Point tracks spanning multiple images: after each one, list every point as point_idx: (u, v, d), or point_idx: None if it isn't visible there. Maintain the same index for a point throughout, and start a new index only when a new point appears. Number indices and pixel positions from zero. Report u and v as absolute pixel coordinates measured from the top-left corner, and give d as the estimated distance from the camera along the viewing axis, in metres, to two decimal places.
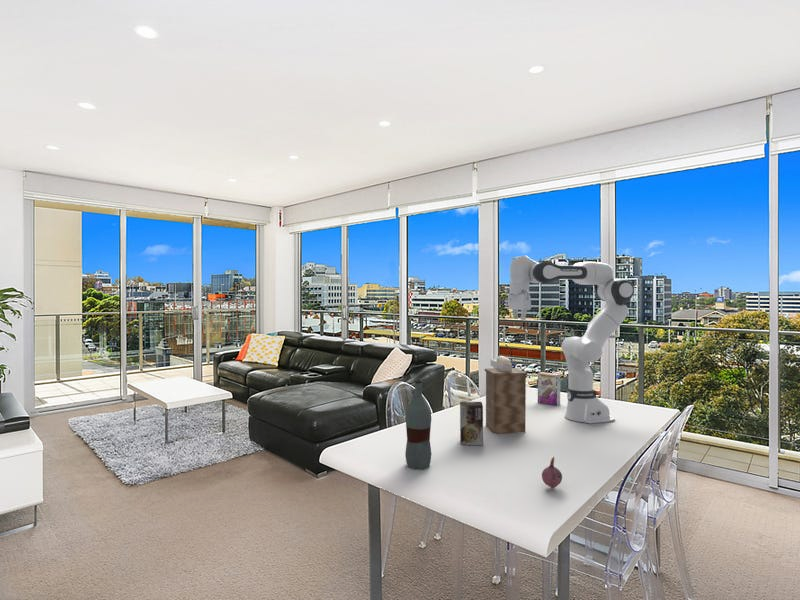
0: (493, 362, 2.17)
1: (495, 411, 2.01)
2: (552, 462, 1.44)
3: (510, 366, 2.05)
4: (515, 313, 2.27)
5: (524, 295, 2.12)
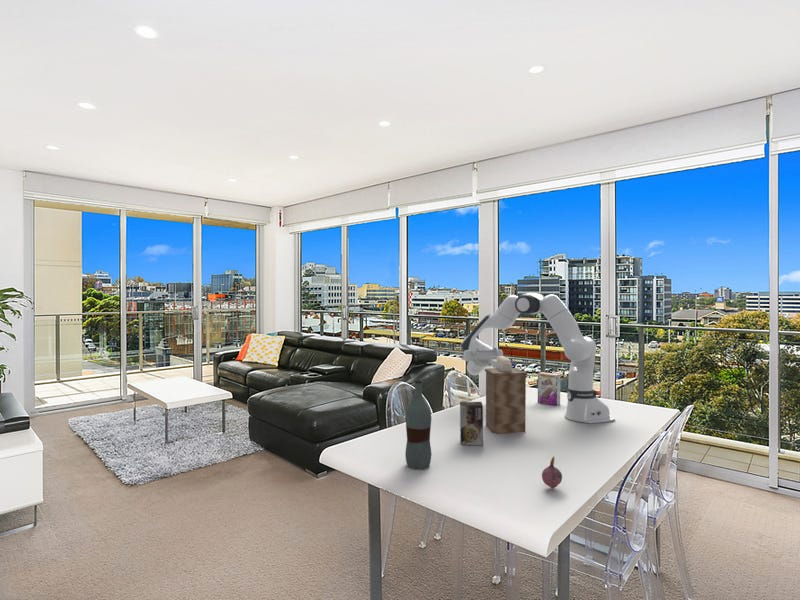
0: (493, 362, 2.17)
1: (495, 411, 2.01)
2: (552, 462, 1.44)
3: (510, 366, 2.05)
4: None
5: None
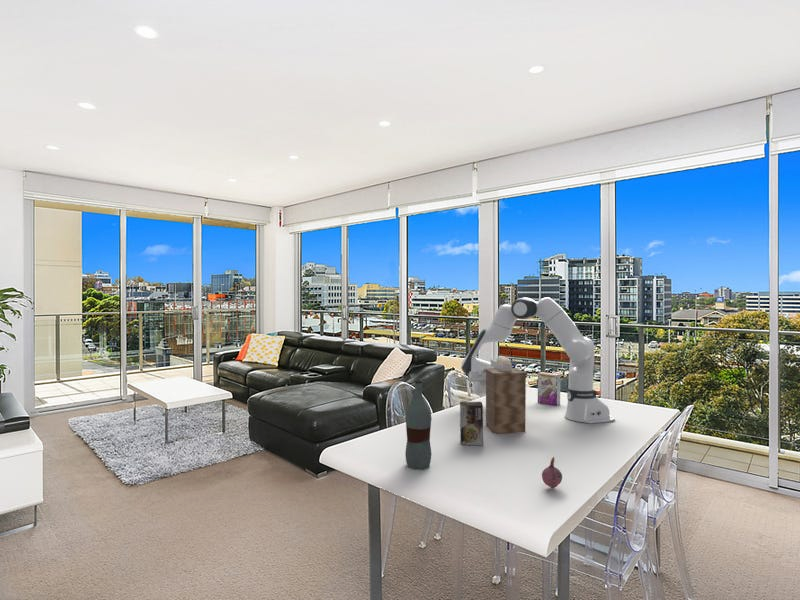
0: (493, 362, 2.17)
1: (495, 411, 2.01)
2: (552, 462, 1.44)
3: (510, 366, 2.05)
4: None
5: None
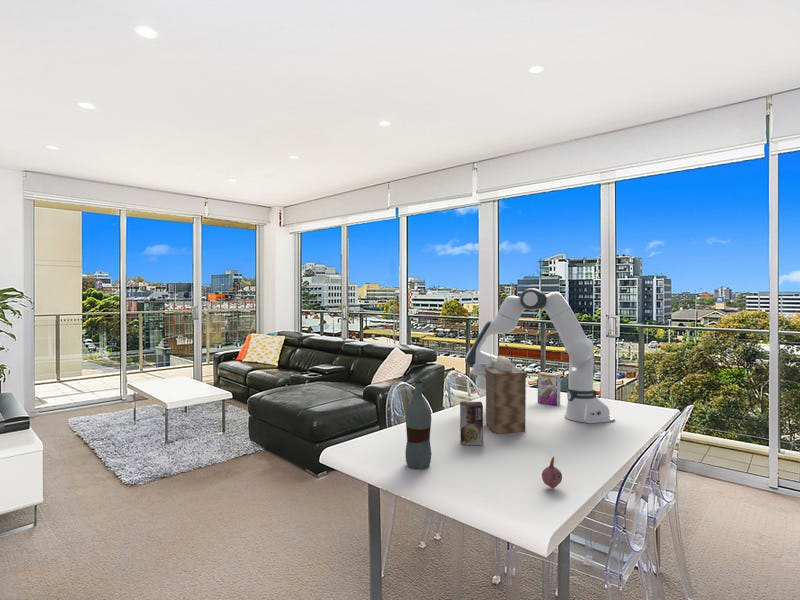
0: (493, 362, 2.17)
1: (495, 411, 2.01)
2: (552, 462, 1.44)
3: (510, 366, 2.05)
4: None
5: None
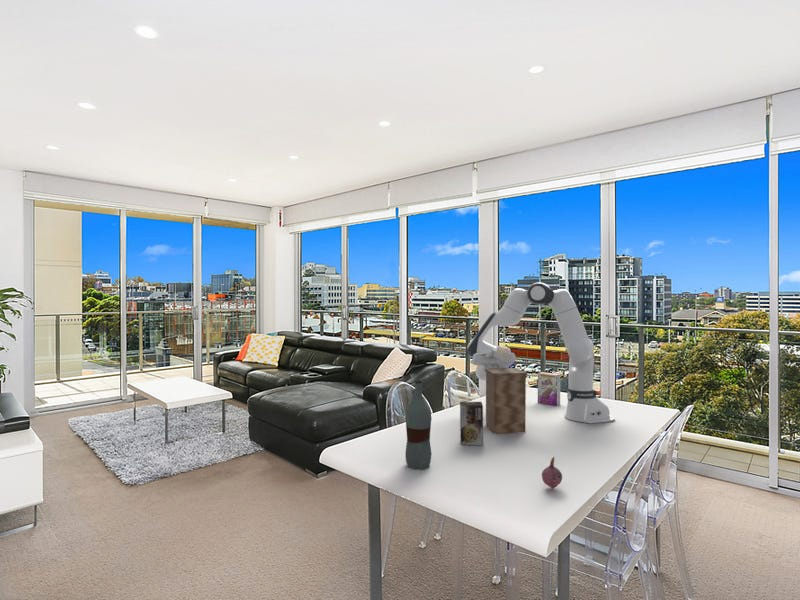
0: (493, 351, 2.17)
1: (495, 411, 2.01)
2: (552, 462, 1.44)
3: (510, 355, 2.05)
4: None
5: None
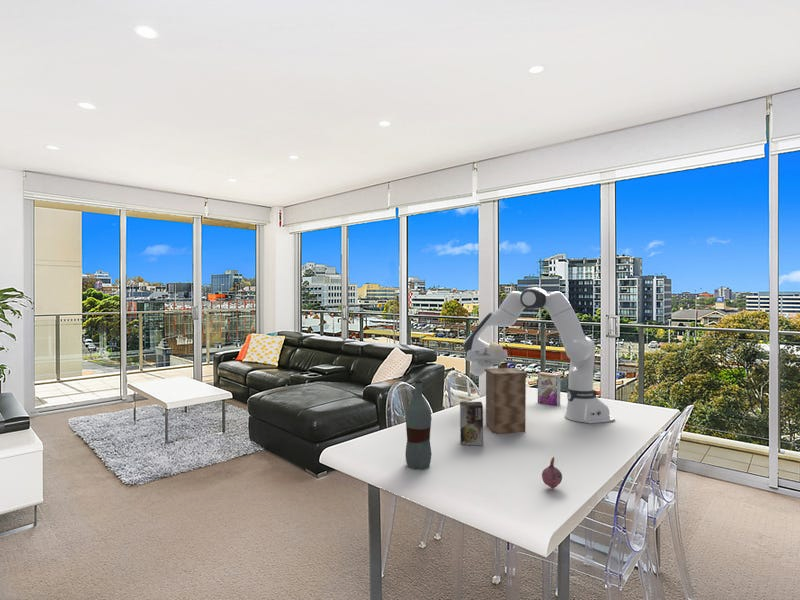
0: (486, 348, 2.28)
1: (495, 411, 2.01)
2: (552, 462, 1.44)
3: (501, 352, 2.16)
4: None
5: None
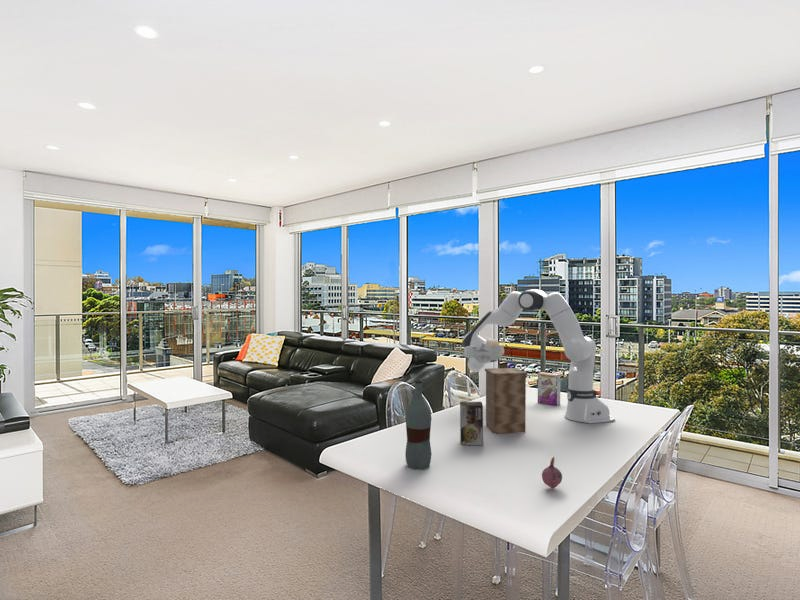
0: (483, 344, 2.33)
1: (495, 411, 2.01)
2: (552, 462, 1.44)
3: (498, 347, 2.21)
4: None
5: None
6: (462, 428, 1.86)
